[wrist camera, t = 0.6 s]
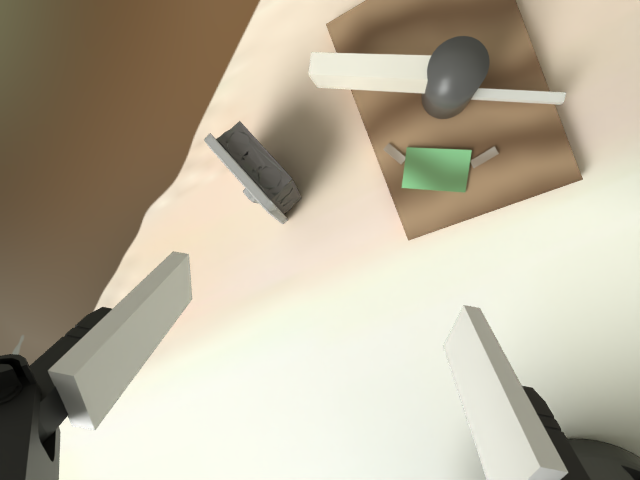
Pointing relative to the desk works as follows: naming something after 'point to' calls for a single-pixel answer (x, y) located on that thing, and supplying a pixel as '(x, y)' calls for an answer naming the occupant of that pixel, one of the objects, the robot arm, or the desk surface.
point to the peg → (423, 76)
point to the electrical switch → (256, 171)
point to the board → (463, 129)
